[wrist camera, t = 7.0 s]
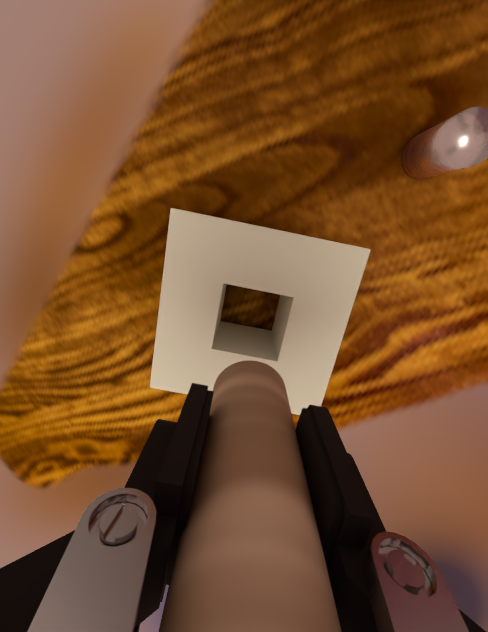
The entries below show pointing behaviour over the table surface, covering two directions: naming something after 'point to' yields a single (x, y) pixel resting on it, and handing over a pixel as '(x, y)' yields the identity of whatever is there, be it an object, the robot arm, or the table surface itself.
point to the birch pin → (250, 521)
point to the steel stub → (448, 145)
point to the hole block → (259, 274)
